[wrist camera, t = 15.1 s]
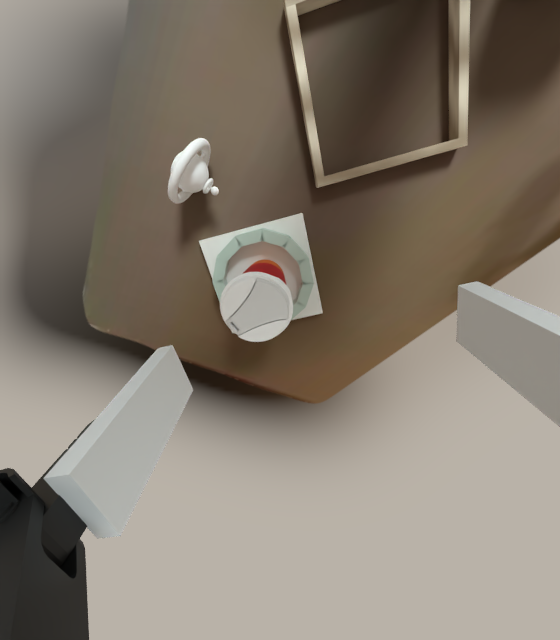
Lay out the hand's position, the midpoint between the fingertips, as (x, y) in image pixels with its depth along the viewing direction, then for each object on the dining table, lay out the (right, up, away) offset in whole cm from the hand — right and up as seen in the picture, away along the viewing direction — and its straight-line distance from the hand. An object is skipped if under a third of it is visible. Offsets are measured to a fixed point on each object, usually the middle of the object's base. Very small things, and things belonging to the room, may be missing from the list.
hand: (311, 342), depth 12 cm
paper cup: (-4, +7, +27) cm, 28 cm away
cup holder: (-4, +8, +28) cm, 29 cm away
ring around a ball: (-11, +20, +23) cm, 32 cm away
